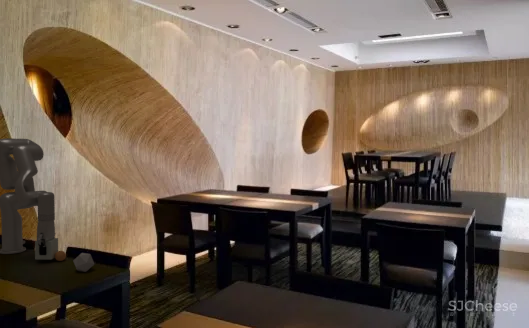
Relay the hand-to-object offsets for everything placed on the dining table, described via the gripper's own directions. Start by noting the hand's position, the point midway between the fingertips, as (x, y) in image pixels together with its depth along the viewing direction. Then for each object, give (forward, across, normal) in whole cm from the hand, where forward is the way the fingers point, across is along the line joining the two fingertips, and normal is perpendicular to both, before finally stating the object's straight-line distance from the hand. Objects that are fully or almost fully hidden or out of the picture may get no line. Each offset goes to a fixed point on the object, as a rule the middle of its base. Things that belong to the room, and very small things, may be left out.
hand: (46, 252), depth 217 cm
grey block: (+2, 0, 0) cm, 2 cm away
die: (+5, +16, +24) cm, 29 cm away
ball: (+2, 0, +6) cm, 7 cm away
